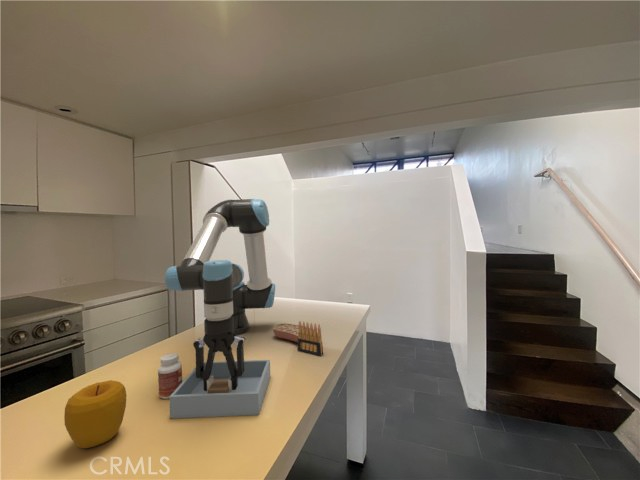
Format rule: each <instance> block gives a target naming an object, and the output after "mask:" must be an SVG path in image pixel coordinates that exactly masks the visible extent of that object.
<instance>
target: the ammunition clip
mask: <svg viewBox="0 0 640 480" xmlns="http://www.w3.org/2000/svg"><path fill="white" fill-rule="evenodd" d="M298 325H299V330H298V343H297V352H299V353H303V354H304V353H305V354H308V355H312V356H316V357H322V356H323V355H324V347H323V341H322V339H323V337H322V329H321V325H320V323H319V324H318V325H317V324H316V323H314V325H313V323H312V322H310V324H309V322H308V321H307V322H306V323H305V321H301V320H299V321H298ZM305 327H306V329H305ZM309 328H310V331H309ZM313 330H314V333H313Z"/></svg>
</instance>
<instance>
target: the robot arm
mask: <svg viewBox="0 0 640 480" xmlns="http://www.w3.org/2000/svg"><path fill="white" fill-rule="evenodd" d="M269 214H270V213H269V209H268V206H267V203H266V202H265V200H263V199H255V198H247V199H243V198H242V199H226V200H223V201H220V202H218V203H217V204H214V206H212V207H211V208H210V209H208V210H207V212H206V213H205V214H204V216H203V219H202V225H201V228H200V229H199V231H198V233H197V234H196V236H195V238H194V239H193V242H192V244H191V245H190V247H189V249H188V251H187V252H186V254H185V256H184V258H183V260H182V261H181V263H180V264H179V265H174V266H173V265H172V266H170V267H168V268H167V270H166V271H165V275H164V283H165V285H166V288H167V289H168V290H170V291H182V292H184V291H200V290H202V291H203V316H204V318H205V319H204V321H203V323H204V324H203V325H204V328H203V329H204V335H203V337H202V338H197V339H196V340H195V341H194V342H193V344H192V345H193V347H194V350H195V367H196V378H202V379H203V381H204V391H207V394H208V389H209V388H210V386H211V385H212V383H213V382H214V381H213V376H210V374H211V370H212V366H213V362H215V356H216V353H219V352H220V353H222V355H223V356H224V358H225V361H226V362H227V365H228V369H229V372H230V375H231V376H230V378H229V380H228V388H229V393H235V392H234V390H236V388H237V386H238V377H240V376H242V374H243V372H244V361H245V357H244V356H245V354H244V344H245V342H246V338H245V337H239V336H238V335H242V334H244V333H246V332H248V331H249V330H250V322H249V320H248V316H247V314H246V309H249V310H250V309H251V310H252V309H253V310H254V309H263V310H264V309H270V308H272V307H273V306H274V303H275V297H276V296H275V295H276V294H275V293H276V284H275V283H272V279H271V278H269V276H268V268H267V266H268V265H267V257H266V248H265V247H266V246H265V238H264V236H265V235H264V233H265V232H266V230H267V227H268V226H270V218H269V217H270V215H269ZM228 228H238V230H239V233H240V234H242V235H243V241H244V248H245V257H246V264H247V270H248V271H247V272H248V278H249V279H248V281H247V282H246V284H245V281H243V280H244V278H245V272H244V270H243V267H242V266H240V265H239V264H237V263H232V261H231V260H227V259H223V260H221V259H220V260H211V258H212V256H213V253H214V252H215V249H216V247H217V244H218V243H219V240H220V238H221V236H222V233H224V232H225V231H226V230H227V229H228ZM233 343H235V346H236V360H235V358H234V355H233V349H232V344H233ZM205 345H206V346H207V348H208V352H207V358H206V361H205V353H204V352H205V348H204V347H205ZM235 361H237V367H236V364H235ZM204 362H206V366H205V370H204Z"/></svg>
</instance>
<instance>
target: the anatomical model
mask: <svg viewBox="0 0 640 480" xmlns="http://www.w3.org/2000/svg"><path fill="white" fill-rule="evenodd" d="M305 329H306V326H305ZM272 330H273V334H274V335H275V337H276V338H279V339H282V340H287V341H291V342H294V343H297V344H298V330H299V324H293V323H286V322H285V323H279V324H278V323H277V324H275V325H274V326H273V327H272ZM309 331H310V327H309ZM313 333H314V329H313Z"/></svg>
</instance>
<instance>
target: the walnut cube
mask: <svg viewBox="0 0 640 480" xmlns="http://www.w3.org/2000/svg"><path fill="white" fill-rule="evenodd" d="M228 380H229V379H224V380H214V382H213V383H212V385H211V386H210V388H209V389H208V394H210V393H229V388H228Z"/></svg>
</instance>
